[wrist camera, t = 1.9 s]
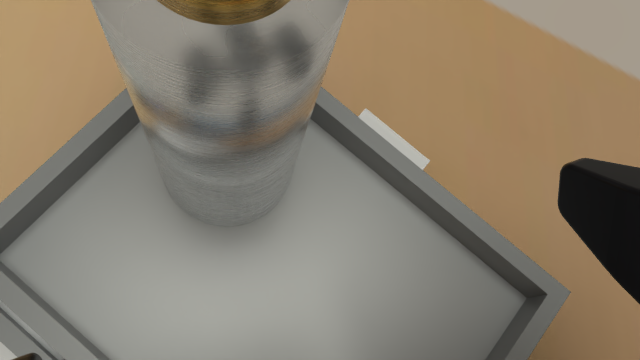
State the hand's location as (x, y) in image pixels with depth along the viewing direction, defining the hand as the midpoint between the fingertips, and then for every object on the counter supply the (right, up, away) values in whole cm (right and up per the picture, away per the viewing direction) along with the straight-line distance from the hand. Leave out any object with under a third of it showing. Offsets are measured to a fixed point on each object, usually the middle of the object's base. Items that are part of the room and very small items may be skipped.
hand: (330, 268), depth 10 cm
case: (-2, -2, +12) cm, 12 cm away
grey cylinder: (-4, +2, +12) cm, 12 cm away
